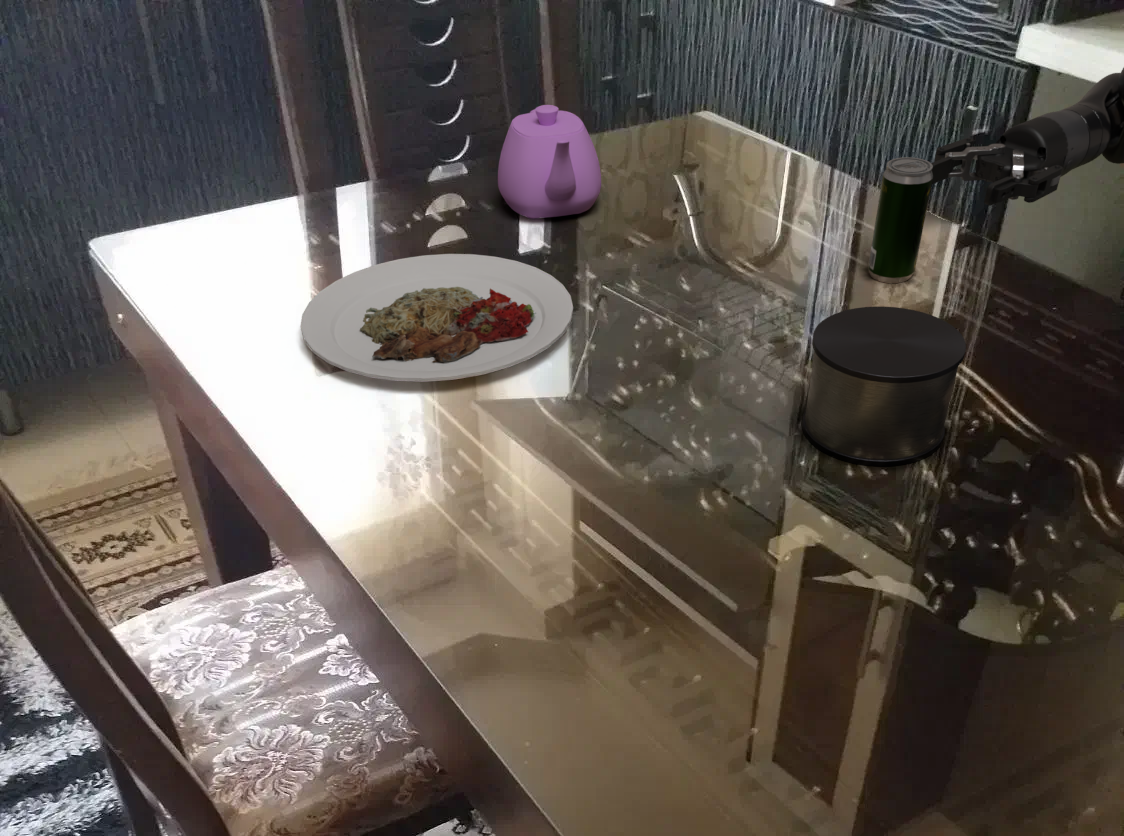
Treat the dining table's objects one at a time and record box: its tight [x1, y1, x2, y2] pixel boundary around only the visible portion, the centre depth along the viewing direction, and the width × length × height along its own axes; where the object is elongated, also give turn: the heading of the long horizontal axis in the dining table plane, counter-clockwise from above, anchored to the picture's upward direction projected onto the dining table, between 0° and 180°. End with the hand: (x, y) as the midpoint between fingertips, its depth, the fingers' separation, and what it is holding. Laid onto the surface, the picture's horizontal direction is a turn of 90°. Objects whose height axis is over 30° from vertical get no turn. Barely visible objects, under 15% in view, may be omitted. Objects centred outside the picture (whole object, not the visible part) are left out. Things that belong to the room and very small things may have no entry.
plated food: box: [300, 253, 574, 383], centre depth 127 cm, size 30×30×3 cm
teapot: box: [497, 104, 602, 220], centre depth 146 cm, size 20×13×12 cm, turn 13°
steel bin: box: [801, 305, 967, 467], centre depth 107 cm, size 14×14×9 cm
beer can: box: [867, 156, 933, 284], centre depth 130 cm, size 5×5×12 cm
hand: (957, 185), depth 133 cm, fingers open, 8 cm apart
